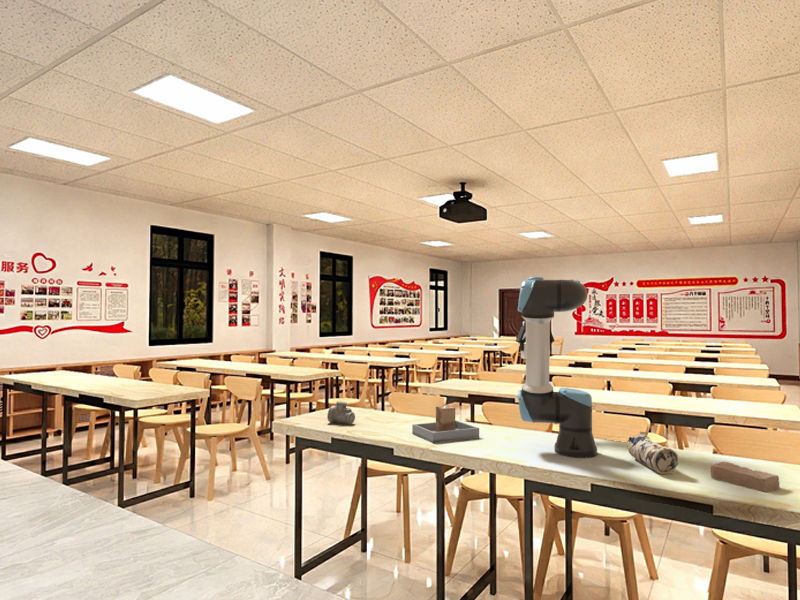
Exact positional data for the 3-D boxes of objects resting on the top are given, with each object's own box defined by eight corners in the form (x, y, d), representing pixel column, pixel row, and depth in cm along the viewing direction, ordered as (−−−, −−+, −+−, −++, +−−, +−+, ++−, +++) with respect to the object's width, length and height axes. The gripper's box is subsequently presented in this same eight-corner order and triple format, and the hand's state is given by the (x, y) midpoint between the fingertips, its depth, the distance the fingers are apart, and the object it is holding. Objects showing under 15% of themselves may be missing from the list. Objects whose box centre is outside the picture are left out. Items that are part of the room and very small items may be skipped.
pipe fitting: (325, 422, 247) (328, 400, 248) (334, 421, 254) (338, 399, 255) (346, 428, 241) (349, 406, 242) (355, 426, 248) (359, 404, 249)
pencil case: (626, 458, 190) (625, 430, 191) (649, 458, 190) (649, 431, 191) (654, 476, 169) (654, 445, 169) (681, 477, 168) (681, 446, 169)
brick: (781, 489, 157) (780, 473, 158) (766, 494, 153) (766, 477, 153) (723, 475, 171) (723, 460, 172) (709, 479, 167) (709, 464, 167)
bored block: (455, 434, 222) (455, 407, 223) (442, 435, 220) (443, 408, 220) (447, 431, 228) (447, 405, 228) (435, 432, 225) (435, 406, 225)
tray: (479, 437, 220) (479, 428, 220) (433, 443, 211) (433, 432, 211) (456, 429, 237) (456, 420, 237) (412, 433, 227) (412, 424, 227)
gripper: (518, 310, 232) (518, 359, 232) (562, 311, 243) (562, 357, 243) (508, 310, 239) (508, 358, 239) (550, 311, 250) (551, 356, 249)
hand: (535, 358), depth 241 cm, fingers open, 13 cm apart
